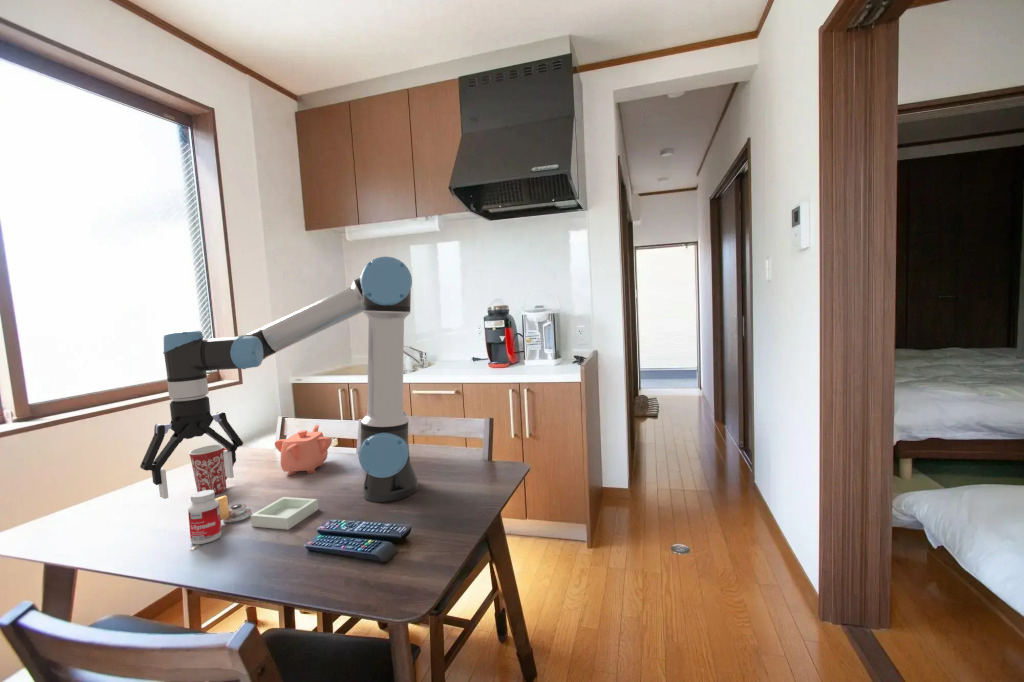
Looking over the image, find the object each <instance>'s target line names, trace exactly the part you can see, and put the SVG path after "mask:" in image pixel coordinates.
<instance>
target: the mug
mask: <svg viewBox="0 0 1024 682" xmlns="http://www.w3.org/2000/svg"><path fill="white" fill-rule="evenodd" d="M225 450H227V449H226V448H225V447H224V446H222V445H221V444H220V443H218V444H210V445H209V444H208V445H203V446H201V447H197V448H194V449H192V450H190V451H189V452H188V455H189V458H190V463H191V467H192V471H193V477H194V481H195V487H196V491H197V492H200V491H204V490H214V493H215V496H216V495H220V494H221V493H223V492H225V491H226V490H227V479H228V477H226V476H225V466H224V455H223V451H225ZM235 454H236V452H235ZM236 455H237V454H236ZM234 465H235V463H233V467H234ZM197 492H196V493H197Z"/></svg>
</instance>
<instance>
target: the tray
mask: <svg viewBox="0 0 1024 682" xmlns="http://www.w3.org/2000/svg"><path fill="white" fill-rule="evenodd" d="M318 510H319V502H318V498H306V497H305V498H304V497H292V496H291V497H290V496H282V497H280V498H278V499H277V500H275V501H273V502H271V503H270V504H268V505H266V506H264V507H263V508H261V509H259V510H258V511H256V512H254V513H252V515H250V522H251V523H250V524H251V527H255V528H256V527H257V528H265V529H267V528H269V529H277V530H278V529H279V530H290V529H291V528H293V527H294V526H296V525H297V524H299V523H300V522H302V521H303V520H305V519H306V518H308V517H309V516H311V515H313V514H314V513H316V512H317V511H318Z"/></svg>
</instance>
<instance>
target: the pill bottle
mask: <svg viewBox="0 0 1024 682" xmlns="http://www.w3.org/2000/svg"><path fill="white" fill-rule="evenodd" d="M215 497H216V495H215V493H214V490H204V491H200V492H195V493H194V492H193V493H192V494H191V495H190V501H191V503H192V504H190V505H189V507H188V510H187V511H188V513H187V515H188V524H189V536H190V542H191V544H192V545H197V544H201V545H204V544H207V543H212V542H214V541H216V540H218V539H219V538H220V537H221V536H222V522H221V521H222V520H221V519H220V507H219V501H218V500H216V498H215Z"/></svg>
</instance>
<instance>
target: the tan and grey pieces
mask: <svg viewBox="0 0 1024 682" xmlns="http://www.w3.org/2000/svg"><path fill="white" fill-rule="evenodd" d="M215 499H216V500H218V501H219V507H220V519H221V521H223V519H226V518H235V517H239V516H242V515H244V514H246V513H247V509H248V508H247V504H246V503H237V504H234V505H230V506H229V502H228V496H227V495H221V496H219V497H216V498H215Z"/></svg>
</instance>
